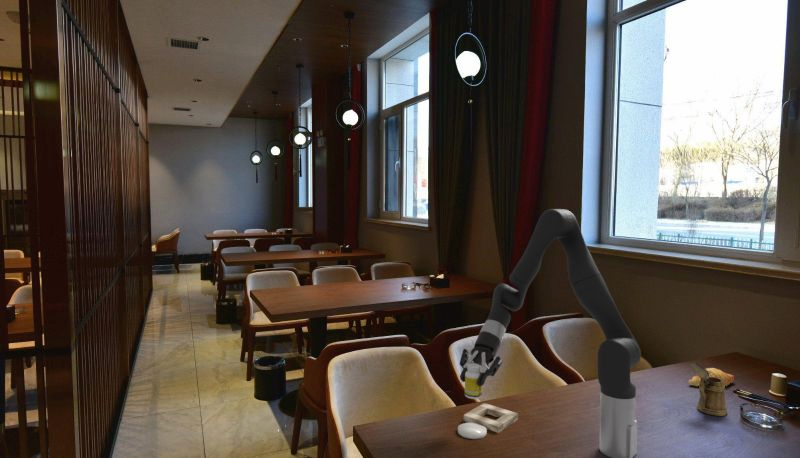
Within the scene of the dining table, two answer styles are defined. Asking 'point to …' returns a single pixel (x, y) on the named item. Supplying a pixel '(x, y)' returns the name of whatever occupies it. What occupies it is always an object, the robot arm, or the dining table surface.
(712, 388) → the wooden mug
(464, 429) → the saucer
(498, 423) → the square wooden frame
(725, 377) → the croissant
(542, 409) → the dining table surface
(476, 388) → the supplement bottle
